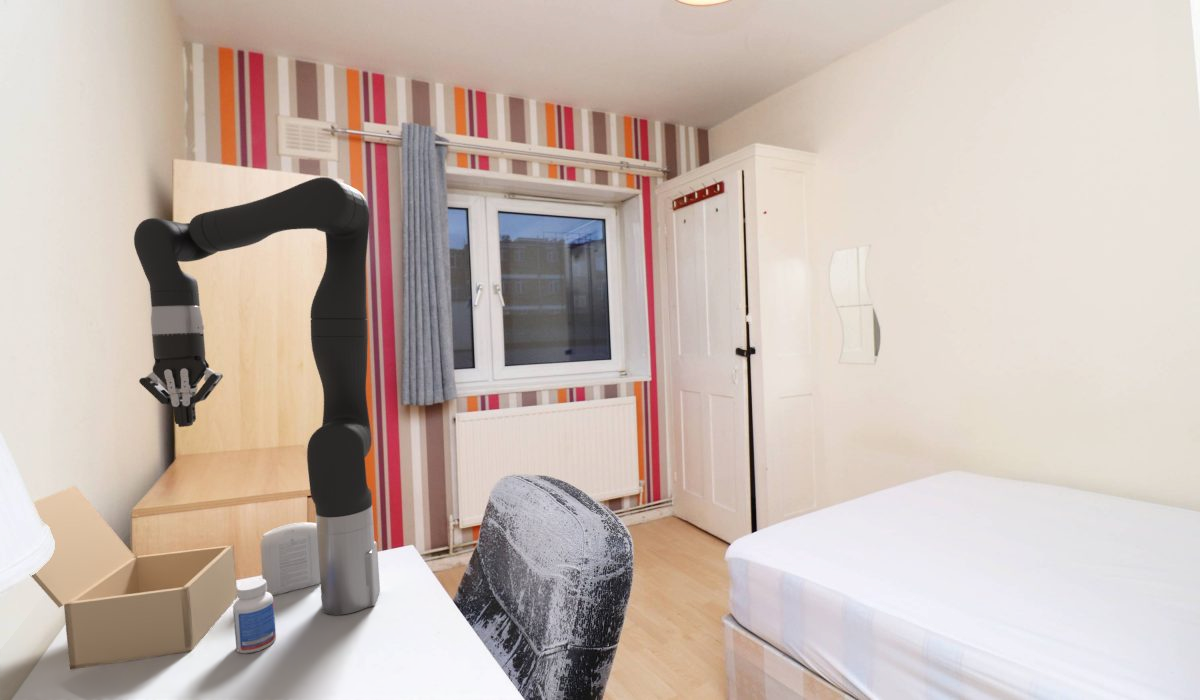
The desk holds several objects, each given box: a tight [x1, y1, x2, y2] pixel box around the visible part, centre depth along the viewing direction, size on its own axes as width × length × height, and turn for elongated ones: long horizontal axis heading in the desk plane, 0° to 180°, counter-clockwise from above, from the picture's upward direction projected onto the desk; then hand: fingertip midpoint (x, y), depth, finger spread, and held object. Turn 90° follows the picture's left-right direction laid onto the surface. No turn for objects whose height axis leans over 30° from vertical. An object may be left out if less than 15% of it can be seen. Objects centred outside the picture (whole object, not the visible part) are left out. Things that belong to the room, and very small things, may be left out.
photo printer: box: [260, 521, 321, 596], centre depth 108 cm, size 10×4×12 cm, turn 123°
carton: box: [63, 544, 238, 670], centre depth 94 cm, size 16×18×10 cm
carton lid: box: [30, 485, 135, 608], centre depth 90 cm, size 16×18×6 cm
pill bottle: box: [232, 578, 277, 654], centre depth 88 cm, size 6×5×10 cm
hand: (186, 425), depth 103 cm, fingers closed
